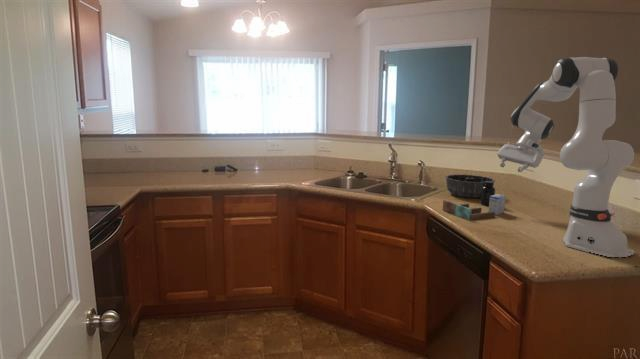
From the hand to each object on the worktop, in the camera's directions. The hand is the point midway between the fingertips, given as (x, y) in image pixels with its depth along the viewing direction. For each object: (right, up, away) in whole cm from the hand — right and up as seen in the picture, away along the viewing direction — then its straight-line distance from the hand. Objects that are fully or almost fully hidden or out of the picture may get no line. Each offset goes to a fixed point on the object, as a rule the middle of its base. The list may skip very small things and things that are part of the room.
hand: (510, 168), depth 202 cm
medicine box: (-6, -21, +1) cm, 22 cm away
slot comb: (-20, -21, -1) cm, 29 cm away
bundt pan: (-6, -14, +40) cm, 43 cm away
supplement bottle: (-4, -18, +18) cm, 26 cm away
